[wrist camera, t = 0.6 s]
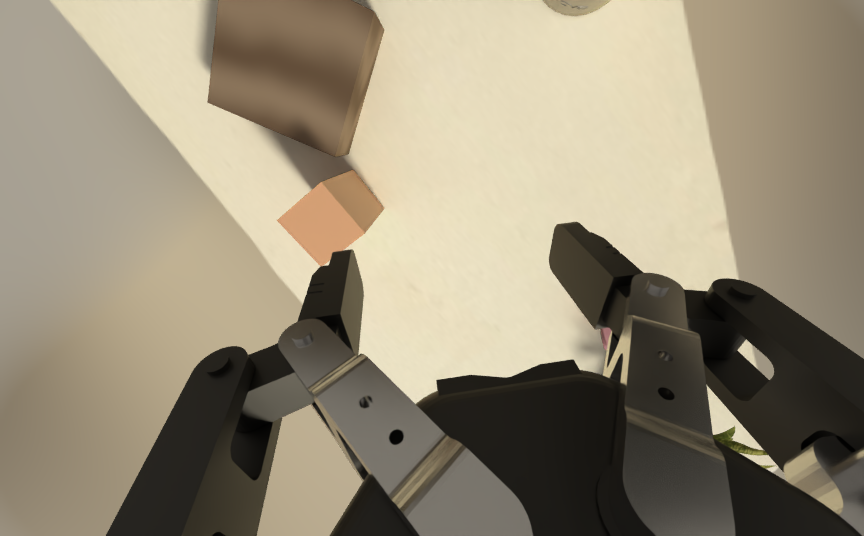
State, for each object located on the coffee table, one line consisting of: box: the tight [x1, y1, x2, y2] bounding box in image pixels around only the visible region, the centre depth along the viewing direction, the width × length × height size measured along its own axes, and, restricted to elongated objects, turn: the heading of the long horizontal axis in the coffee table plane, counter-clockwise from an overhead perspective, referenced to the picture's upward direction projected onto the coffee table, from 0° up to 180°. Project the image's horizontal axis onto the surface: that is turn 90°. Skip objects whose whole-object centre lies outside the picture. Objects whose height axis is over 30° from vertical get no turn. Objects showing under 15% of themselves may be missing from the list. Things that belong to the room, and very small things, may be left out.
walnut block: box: [208, 0, 384, 157], centre depth 29 cm, size 12×12×5 cm
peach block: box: [277, 170, 384, 266], centre depth 31 cm, size 5×5×10 cm
